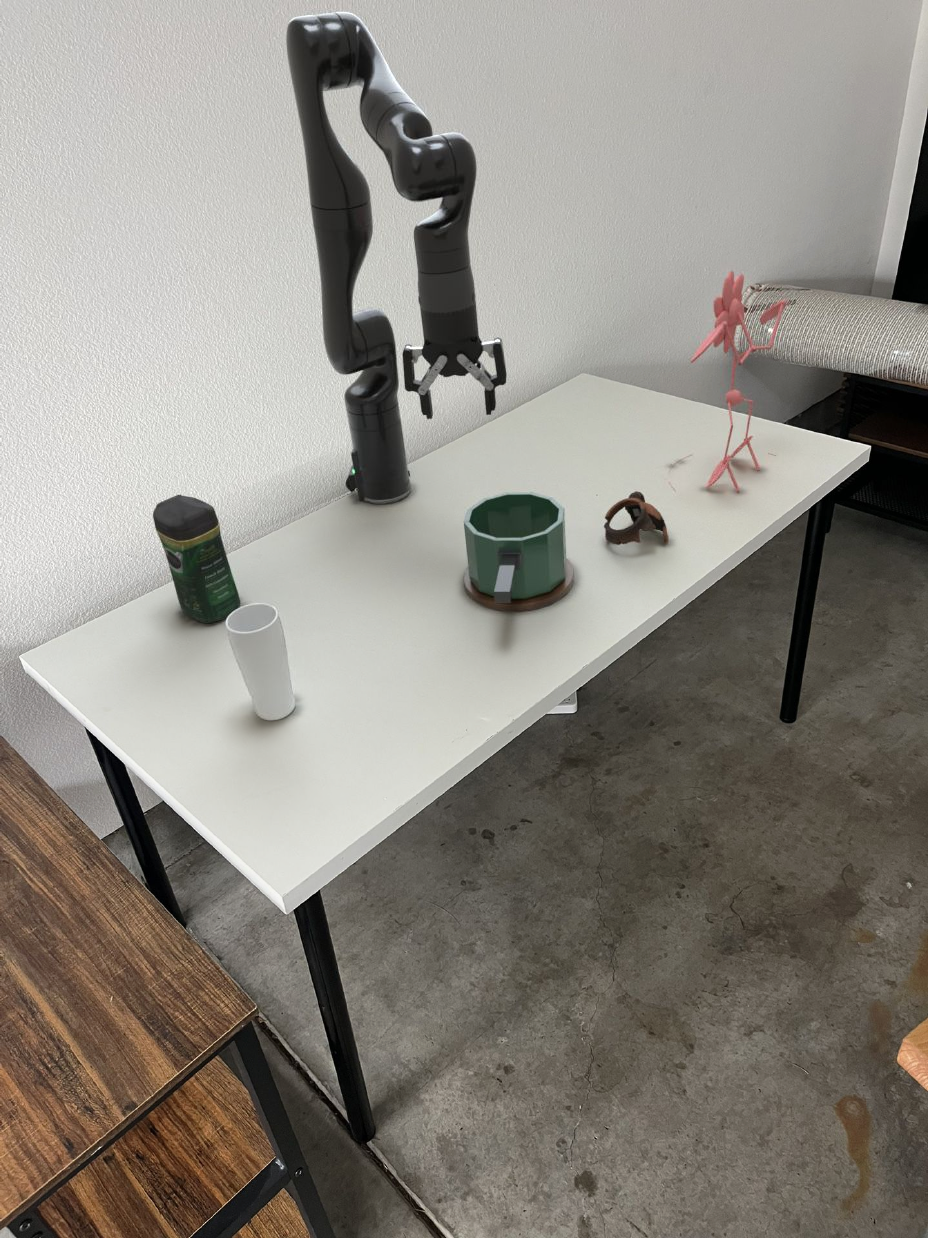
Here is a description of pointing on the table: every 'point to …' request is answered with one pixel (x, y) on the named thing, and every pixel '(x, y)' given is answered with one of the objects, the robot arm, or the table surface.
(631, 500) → the brown ring-shaped piece
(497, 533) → the pot
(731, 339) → the figurine
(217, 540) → the coffee jar
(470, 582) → the disc
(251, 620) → the drinking glass
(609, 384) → the table surface
